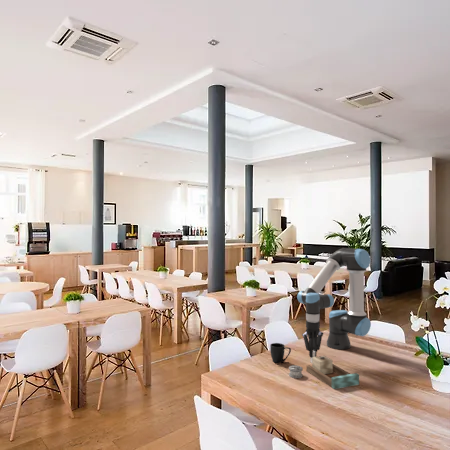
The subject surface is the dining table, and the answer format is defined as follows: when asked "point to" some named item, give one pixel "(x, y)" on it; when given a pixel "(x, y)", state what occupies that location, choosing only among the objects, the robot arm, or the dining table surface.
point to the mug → (278, 352)
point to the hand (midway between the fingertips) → (312, 362)
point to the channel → (338, 381)
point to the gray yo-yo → (295, 371)
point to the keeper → (323, 364)
